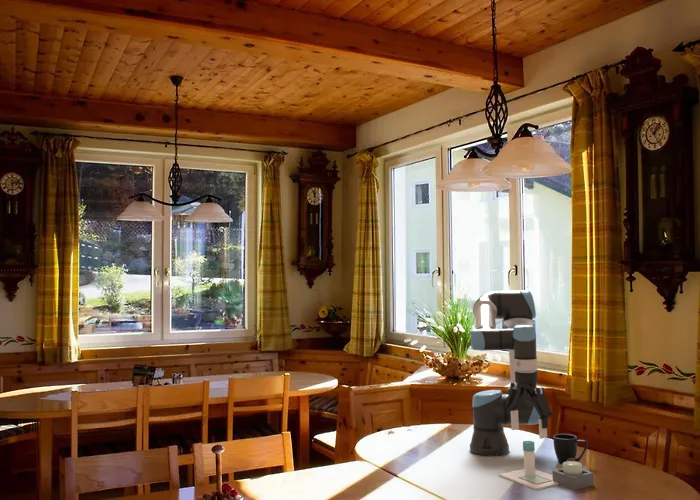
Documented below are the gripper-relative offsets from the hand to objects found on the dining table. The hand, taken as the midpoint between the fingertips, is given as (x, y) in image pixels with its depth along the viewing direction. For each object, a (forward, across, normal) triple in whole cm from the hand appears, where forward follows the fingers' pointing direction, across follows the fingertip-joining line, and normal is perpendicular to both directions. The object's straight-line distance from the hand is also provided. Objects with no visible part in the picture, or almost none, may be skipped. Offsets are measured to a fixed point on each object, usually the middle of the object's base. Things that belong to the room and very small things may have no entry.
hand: (528, 433), depth 221 cm
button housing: (+15, +13, +6) cm, 20 cm away
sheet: (+15, +2, 0) cm, 15 cm away
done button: (+12, +13, +7) cm, 19 cm away
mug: (+16, -4, +24) cm, 28 cm away
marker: (+14, +1, -1) cm, 14 cm away
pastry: (+16, +2, +17) cm, 23 cm away
